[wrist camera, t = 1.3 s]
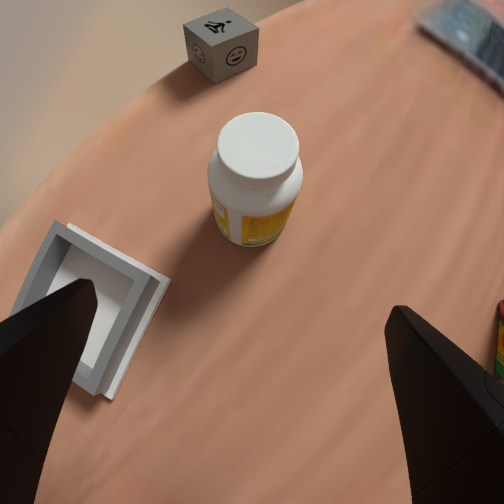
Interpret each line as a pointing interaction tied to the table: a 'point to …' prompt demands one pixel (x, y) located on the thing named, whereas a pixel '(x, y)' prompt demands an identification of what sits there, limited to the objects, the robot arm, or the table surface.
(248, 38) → the dice cube
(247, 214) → the supplement bottle
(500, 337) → the crayon box
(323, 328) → the table surface
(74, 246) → the tray
